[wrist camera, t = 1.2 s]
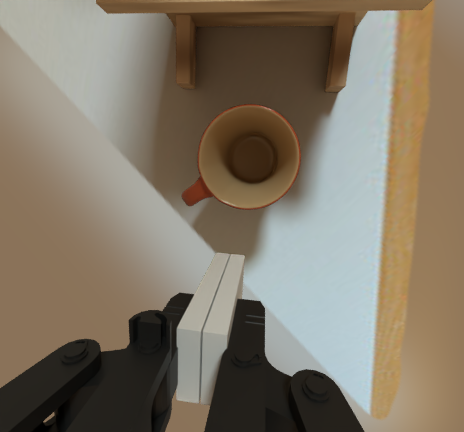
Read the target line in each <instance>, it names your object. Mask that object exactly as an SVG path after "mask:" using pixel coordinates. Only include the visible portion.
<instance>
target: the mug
mask: <svg viewBox="0 0 464 432" xmlns="http://www.w3.org/2000/svg"><path fill="white" fill-rule="evenodd" d="M300 161H301V152H300V145H299V141H298V138H297V135H296V133H295V131H294V129H293V128H292V126H291V125H290V124H289V122H288V121H287V120H286V119H285V118H284V117H283V116H282V115H280V114H279V113H278V112H276V111H274V110H272V109H270V108H268V107H265V106H261V105H256V104H244V105H239V106H235V107H232V108H229V109H227V110H225V111H224V112H222V113H221V114H219V115H218V116H217V117H216V118H215V119H214V120H212V122H211V123H210V124H209V125H208V127H207V128H206V130H205V132H204V133H203V136H202V138H201V141H200V144H199V149H198V170H199V173H200V177H199V179H198V180H197V181H196V183H195V184H193V185H192V186H191V187H189V188H188V189H186V190H185V191H184V192H183V193H182V199H183V200H184V202H185V203H186V204H187V205H188V206H193V205H194V204H196V203H198V202H199V201H201V200H203V199H205V198H209V197H213V196H214V197H215V198H216V199H217V200H218V201H220V202H222V203H224V204H226V205H228V206H231V207H234V208H238V209H245V210H252V209H259V208H263V207H266V206H269V205H271V204H273V203H275V202H276V201H278V200H279V199H280V198H282V197H283V196H284V195H285V194H286V193H287V192H288V190H289V189H290V188H291V186H292V185H293V183H294V181H295V179H296V177H297V175H298V172H299V167H300Z"/></svg>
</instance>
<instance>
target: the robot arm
mask: <svg viewBox="0 0 464 432" xmlns="http://www.w3.org/2000/svg"><path fill="white" fill-rule="evenodd" d="M244 260H245V255H237V254H231V256H230V254H226V253H216V254H215V256H214V258H213V260H212V262H211V264H210V266H209V268H208V270H207V272H206V273H205V275H204V277H203V279H202V281H201V283H200V285H199V287H198V289H197V291H196V293H195V294H186V293H179V294H177V295H175V296H174V297H172V298H171V299H170V301H169V302H168V304H167V305H166V307H165V308H164V309H163V311H159V310H149V311H144V312H141V313H138V314H136V315H134V316H133V317H132V318H131V319H129V334H130V335H129V336H130V343H129V345H128V346H127V348H125V349H121V350H114V351H104V352H101V350H100V345H99V343H97V342H96V341H95V340H91V339H81V340H76V341H73V342H69V343H67V344H65V345H64V346H62V347H60V348H58V349H57V350H56V351H54V352H52V353H51V354H50V355H48V356H47V357H45V358H44V359H42V360H41V361H39V362H38V363H36V364H35V365H34V366H32V367H31V368H29V369H28V370H26V371H25V372H23V373H22V374H20V375H19V376H18V377H16V378H15V379H13V380H12V381H10V382H9V383H7V384H6V385H5V386H3V387H1V388H0V432H165V430H166V427H167V424H168V422H169V419H170V415H171V410H172V398H173V395H174V393H175V390H176V388H177V400H180V401H186V402H192V403H199V401H200V397H201V404H204V405H210V410H209V414H208V418H207V422H206V427H205V431H204V432H364V430H363V428H362V426H361V425H360V423H359V421H358V420H357V418H356V416H355V414H354V413H353V411H352V409H351V407H350V406H349V404H348V402H347V401H346V399H345V397H344V395H343V394H342V392H341V390H340V388H339V387H338V386H337V385H336V384H335V382H334V381H333V380H332V379H331V378H329V377H328V376H326V375H325V374H323V373H320V372H318V371H315V370H307V369H306V370H302V371H298V372H297V373H296V374H294V375H293V377H291V376H289V375H287V374H284V373H282V372H280V371H278V370H277V369H275V368H274V367H273V366H272V365H271V364H270V363H269V362H268V360H267V358H266V356H265V308H264V306H263V305H262V303H261V302H260V301H254V300H244V299H242V288H243V275H244ZM53 412H54V413H55V416H54V417H52V418H51V419H50V420H48V421H47V422H45V423H43V421H44V420H45V419H46V418H47V417H48V416H49V415H51V414H52V413H53Z"/></svg>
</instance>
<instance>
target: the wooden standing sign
mask: <svg viewBox="0 0 464 432" xmlns="http://www.w3.org/2000/svg"><path fill="white" fill-rule="evenodd" d="M431 1H432V0H96V4H98V5H99V6H100V7H101V8H102V9H103V10H104V11H105V12H106V13H166V14H167V16H168V17H169V19H170V20H171V21H172V23H173V24H174V26H175V27H176V83H177V84H178V85H180V86H181V87H182V88H184V89H195V81H196V27H217V26H333V31H332V39H331V47H330V55H329V63H328V71H327V79H326V87H325V92H339V91H341V90H342V89H343V88H344V87H345V86H346V78H347V71H348V64H349V57H350V50H351V43H352V36H353V29H354V26H358V25H359V23H360V22H361V20H362V19H363V17H364V16H365V15H366V13H367V12H368V11H380V10H422V9H423V8H425V7H426V6H427V5H428V4H429V3H430V2H431Z"/></svg>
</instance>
